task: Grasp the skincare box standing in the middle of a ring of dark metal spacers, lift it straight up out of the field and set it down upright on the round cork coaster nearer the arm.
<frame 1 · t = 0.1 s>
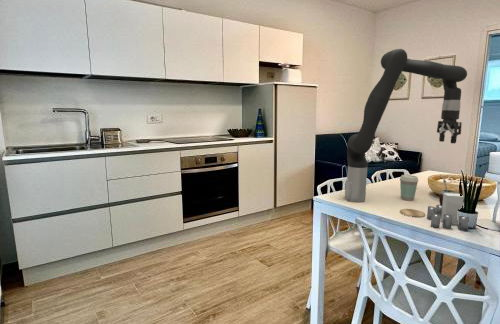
hand: (447, 142, 156), 29 cm above the table, fingers open, 8 cm apart
spacer field: (450, 223, 127), on the table
skincare box: (450, 223, 127), on the table
coaster: (412, 213, 138), on the table
coffee cup: (407, 199, 160), on the table
mate gourd: (446, 207, 147), on the table
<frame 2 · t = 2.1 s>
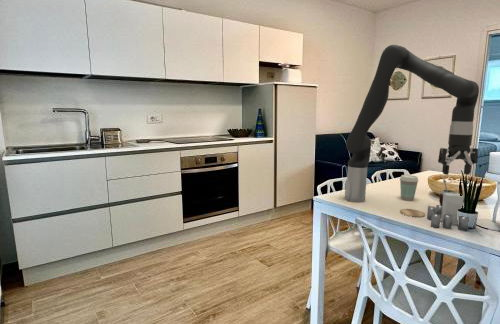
hand: (456, 174, 124), 20 cm above the table, fingers open, 8 cm apart
nothing on the table moved.
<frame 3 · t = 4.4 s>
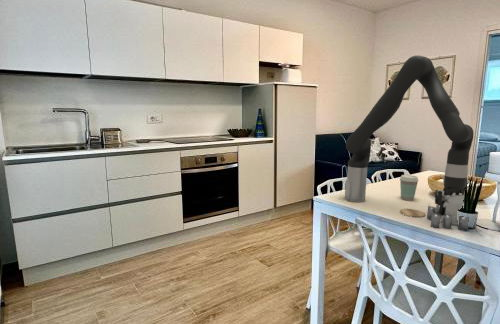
hand: (451, 215, 126), 3 cm above the table, fingers closed on skincare box, 7 cm apart
skincare box: (450, 223, 127), on the table, touching gripper
everything else where it was.
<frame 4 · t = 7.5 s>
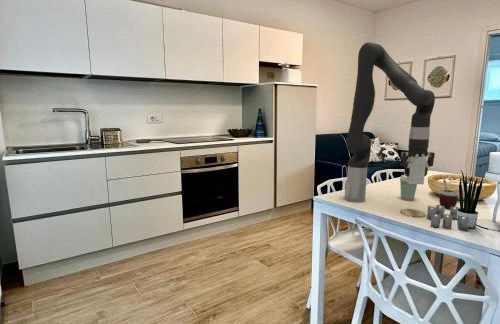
hand: (415, 175, 135), 17 cm above the table, fingers closed on skincare box, 7 cm apart
skincare box: (414, 183, 136), point 14 cm above the table, touching gripper
everything else where it was.
when the fingers open (5 cm above the table, at t = 10.5 s): skincare box drops 1 cm, resting on coaster.
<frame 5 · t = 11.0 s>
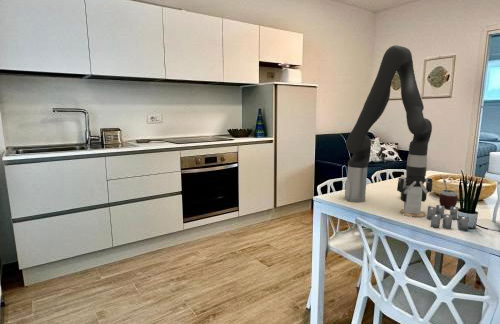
hand: (413, 201, 137), 6 cm above the table, fingers open, 8 cm apart
skincare box: (411, 212, 138), resting on coaster
everything else where it was.
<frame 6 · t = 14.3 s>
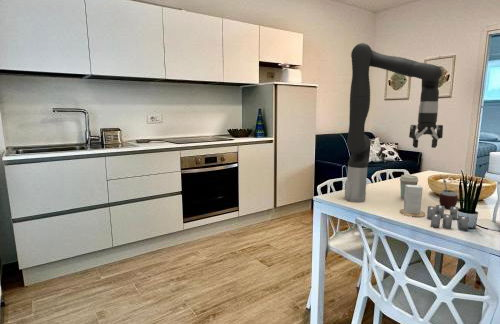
hand: (424, 147, 144), 28 cm above the table, fingers open, 8 cm apart
nothing on the table moved.
at the end: skincare box 0.4 cm from the coaster (horizontally); skincare box tilted 0°; skincare box resting on coaster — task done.
